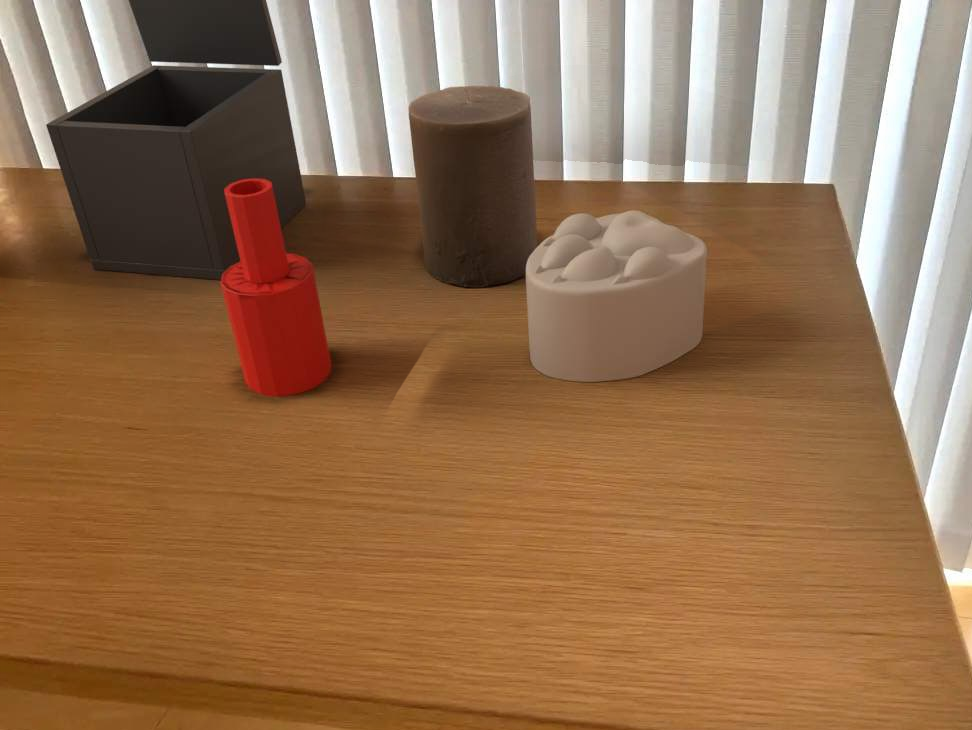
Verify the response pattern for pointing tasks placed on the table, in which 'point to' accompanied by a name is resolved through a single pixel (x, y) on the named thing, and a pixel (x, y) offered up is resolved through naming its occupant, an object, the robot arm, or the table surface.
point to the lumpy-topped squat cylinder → (614, 297)
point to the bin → (175, 165)
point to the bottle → (272, 299)
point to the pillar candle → (475, 183)
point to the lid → (207, 31)
